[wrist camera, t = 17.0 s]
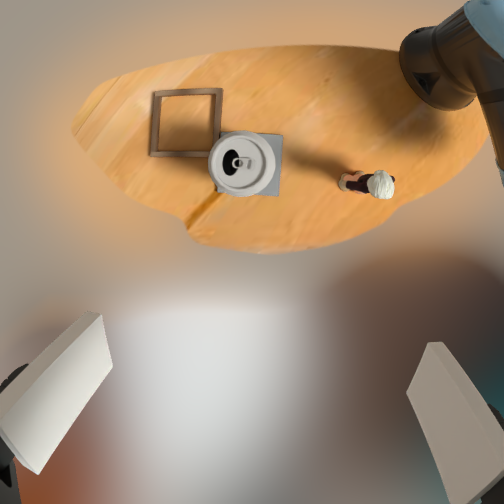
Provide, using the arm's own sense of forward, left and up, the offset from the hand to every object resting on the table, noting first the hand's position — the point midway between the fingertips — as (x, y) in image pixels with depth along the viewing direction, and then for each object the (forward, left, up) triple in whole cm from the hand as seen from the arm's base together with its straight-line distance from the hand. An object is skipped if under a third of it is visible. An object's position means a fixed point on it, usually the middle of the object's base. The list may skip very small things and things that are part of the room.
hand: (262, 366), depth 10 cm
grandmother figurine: (-12, -6, -35) cm, 37 cm away
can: (+4, -7, -34) cm, 35 cm away
